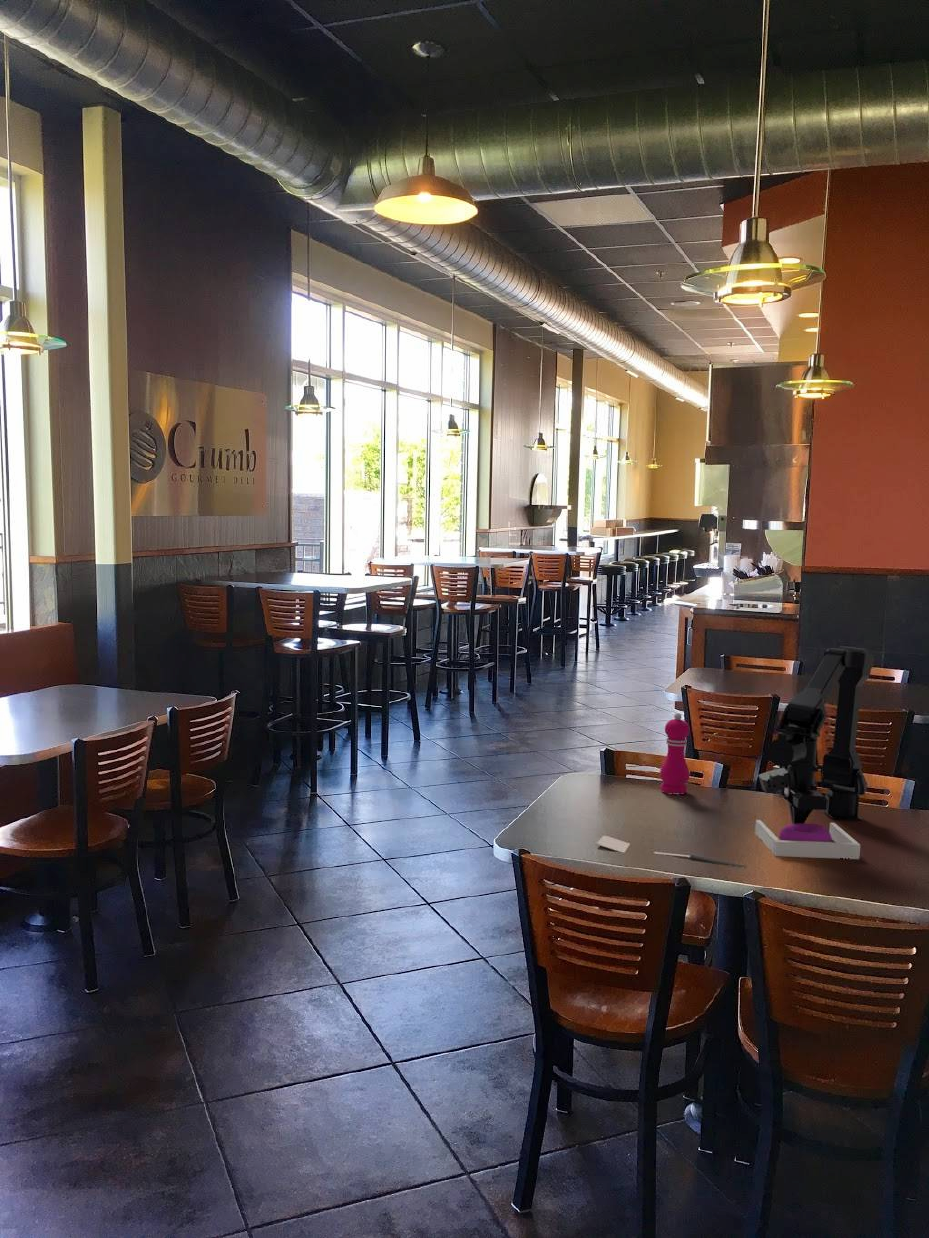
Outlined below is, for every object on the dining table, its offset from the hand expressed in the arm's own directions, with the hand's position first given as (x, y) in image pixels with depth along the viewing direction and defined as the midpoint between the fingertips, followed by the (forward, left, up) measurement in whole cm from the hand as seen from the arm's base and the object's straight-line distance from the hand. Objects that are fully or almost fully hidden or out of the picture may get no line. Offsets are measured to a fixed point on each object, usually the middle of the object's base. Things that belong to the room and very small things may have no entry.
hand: (796, 829), depth 209 cm
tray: (0, +6, -2) cm, 6 cm away
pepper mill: (+20, -33, -2) cm, 38 cm away
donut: (0, +6, -2) cm, 7 cm away
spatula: (+30, +15, -2) cm, 33 cm away
